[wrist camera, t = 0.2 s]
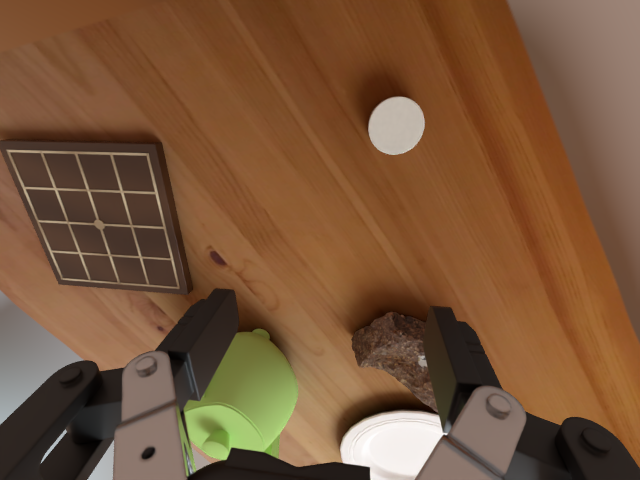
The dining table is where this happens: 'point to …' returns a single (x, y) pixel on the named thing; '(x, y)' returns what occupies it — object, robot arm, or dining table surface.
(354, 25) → the dining table surface
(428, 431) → the plate
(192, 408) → the teapot
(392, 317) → the rock
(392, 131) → the white cylindrical puck
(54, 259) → the board
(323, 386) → the dining table surface
